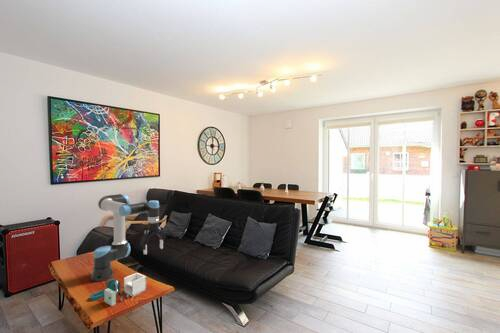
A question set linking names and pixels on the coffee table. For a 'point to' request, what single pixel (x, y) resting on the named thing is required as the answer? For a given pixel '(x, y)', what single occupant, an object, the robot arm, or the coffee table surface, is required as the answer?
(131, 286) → the cabinet
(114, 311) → the coffee table surface
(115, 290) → the small parts
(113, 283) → the bracket
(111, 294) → the door
